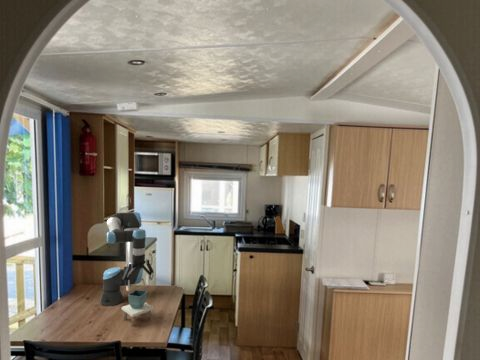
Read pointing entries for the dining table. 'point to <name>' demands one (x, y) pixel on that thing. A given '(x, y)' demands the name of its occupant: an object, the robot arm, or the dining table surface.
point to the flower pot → (137, 298)
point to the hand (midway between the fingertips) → (137, 287)
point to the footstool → (137, 311)
